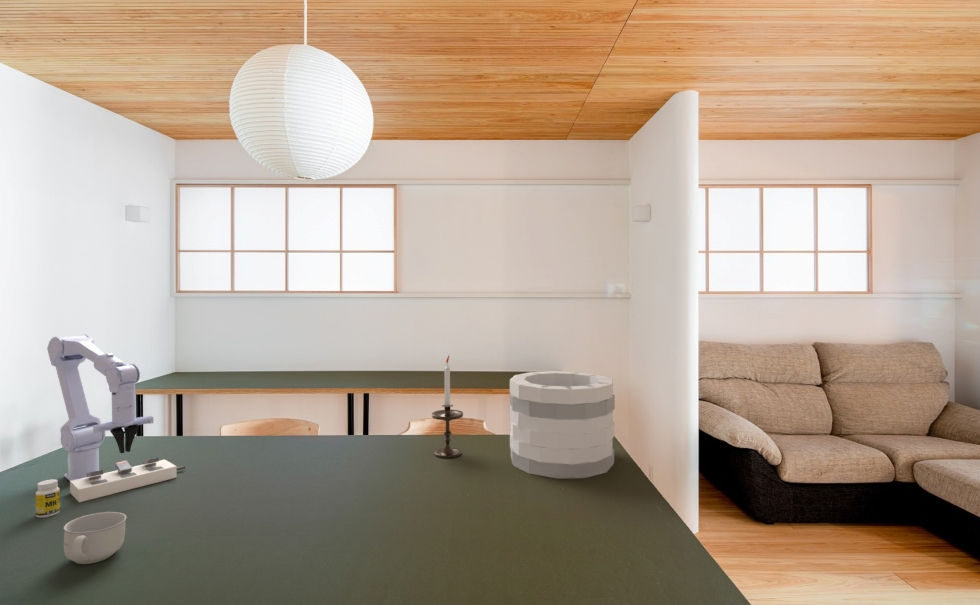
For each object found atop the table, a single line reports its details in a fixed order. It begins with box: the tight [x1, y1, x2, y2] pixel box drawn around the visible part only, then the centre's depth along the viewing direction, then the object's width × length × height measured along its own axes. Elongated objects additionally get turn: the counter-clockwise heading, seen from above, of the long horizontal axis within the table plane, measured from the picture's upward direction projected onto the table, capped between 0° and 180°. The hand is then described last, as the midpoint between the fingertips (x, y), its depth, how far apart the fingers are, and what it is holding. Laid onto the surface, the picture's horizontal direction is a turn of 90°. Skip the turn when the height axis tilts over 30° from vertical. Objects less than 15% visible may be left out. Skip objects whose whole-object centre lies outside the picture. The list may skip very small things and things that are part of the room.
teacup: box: [63, 511, 127, 565], centre depth 110 cm, size 14×11×8 cm
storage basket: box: [509, 370, 616, 479], centre depth 173 cm, size 35×35×27 cm
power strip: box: [69, 459, 186, 503], centre depth 154 cm, size 10×28×4 cm, turn 140°
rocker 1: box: [86, 469, 104, 477], centre depth 148 cm, size 5×3×1 cm, turn 50°
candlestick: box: [431, 355, 464, 459], centre depth 180 cm, size 11×11×35 cm
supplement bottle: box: [35, 478, 61, 519], centre depth 133 cm, size 5×5×8 cm
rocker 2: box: [115, 460, 133, 474], centre depth 153 cm, size 5×3×1 cm, turn 51°
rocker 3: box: [142, 457, 160, 465], centre depth 159 cm, size 5×3×1 cm, turn 50°
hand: (124, 451), depth 152 cm, fingers closed
